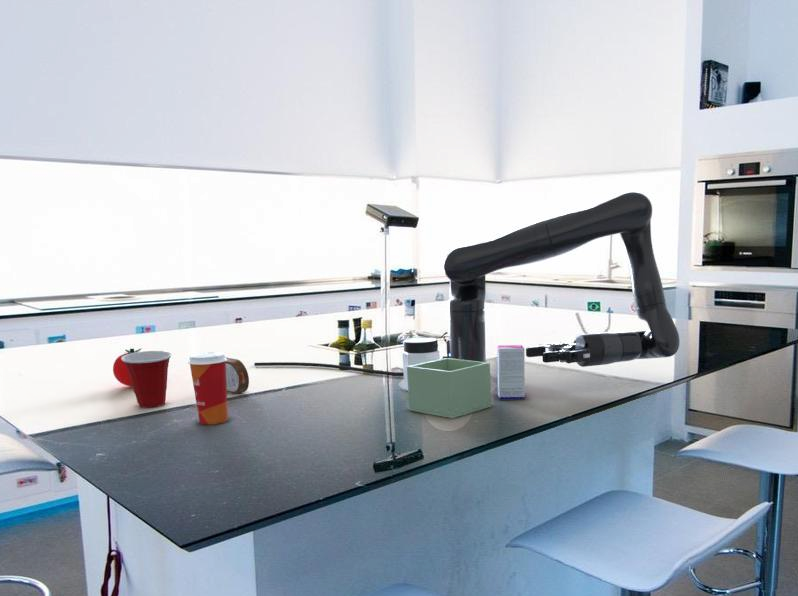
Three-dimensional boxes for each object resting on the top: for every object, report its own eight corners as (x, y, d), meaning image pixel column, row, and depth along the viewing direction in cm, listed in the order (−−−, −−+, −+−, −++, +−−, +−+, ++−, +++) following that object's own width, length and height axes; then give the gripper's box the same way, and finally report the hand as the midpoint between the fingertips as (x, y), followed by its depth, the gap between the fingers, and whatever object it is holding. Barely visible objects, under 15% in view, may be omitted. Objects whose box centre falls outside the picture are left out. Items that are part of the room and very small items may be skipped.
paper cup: (199, 417, 161) (192, 352, 158) (236, 415, 162) (229, 351, 159) (190, 426, 153) (182, 358, 151) (228, 424, 154) (222, 357, 151)
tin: (251, 394, 184) (248, 359, 182) (240, 396, 182) (236, 361, 180) (218, 387, 194) (215, 354, 192) (207, 389, 192) (204, 356, 190)
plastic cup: (129, 412, 168) (122, 359, 166) (125, 404, 178) (118, 353, 175) (180, 406, 173) (174, 354, 171) (173, 397, 183) (167, 348, 180)
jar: (444, 391, 178) (443, 340, 176) (412, 394, 176) (409, 343, 173) (432, 384, 187) (430, 336, 184) (401, 388, 184) (398, 339, 182)
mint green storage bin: (408, 410, 160) (406, 366, 158) (448, 399, 169) (446, 357, 167) (452, 418, 152) (450, 372, 150) (491, 406, 161) (489, 362, 159)
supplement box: (525, 399, 167) (524, 348, 164) (498, 400, 167) (497, 348, 164) (523, 393, 172) (522, 344, 170) (497, 394, 172) (496, 345, 170)
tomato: (106, 389, 197) (101, 351, 195) (136, 381, 207) (131, 345, 205) (136, 390, 193) (132, 352, 191) (166, 383, 203) (161, 346, 201)
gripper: (582, 329, 181) (520, 334, 176) (614, 336, 168) (549, 342, 162) (582, 360, 182) (521, 366, 177) (614, 369, 169) (549, 376, 164)
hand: (534, 355), depth 170 cm, fingers open, 8 cm apart
